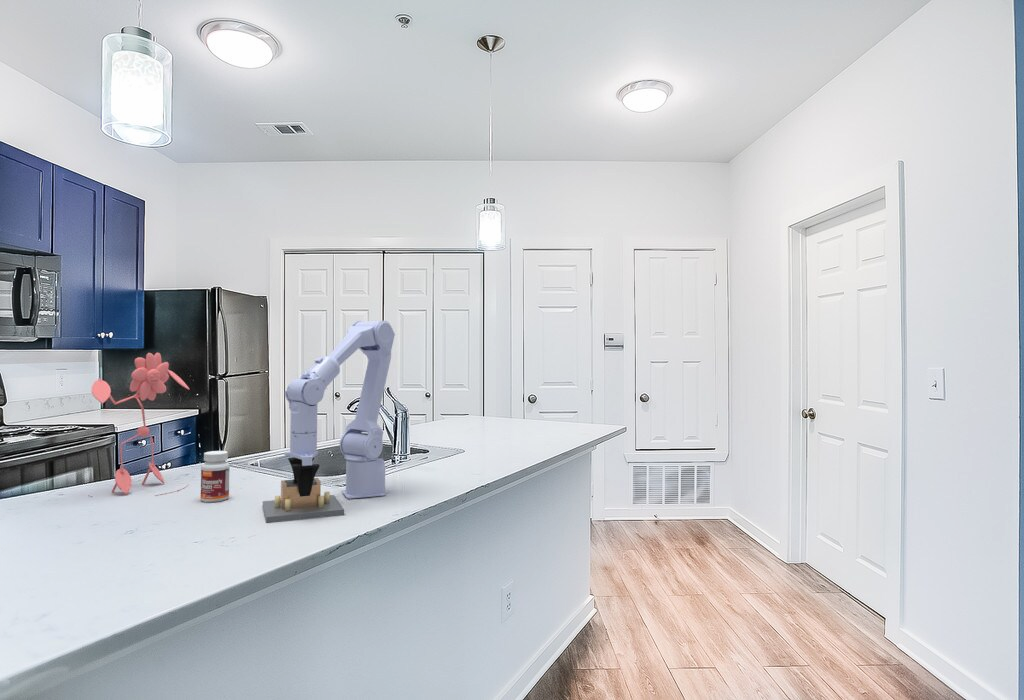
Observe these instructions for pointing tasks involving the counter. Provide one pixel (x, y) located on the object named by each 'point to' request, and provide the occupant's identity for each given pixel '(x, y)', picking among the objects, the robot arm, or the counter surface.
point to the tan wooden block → (291, 492)
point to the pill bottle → (215, 477)
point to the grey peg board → (301, 509)
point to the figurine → (147, 385)
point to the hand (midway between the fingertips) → (302, 491)
